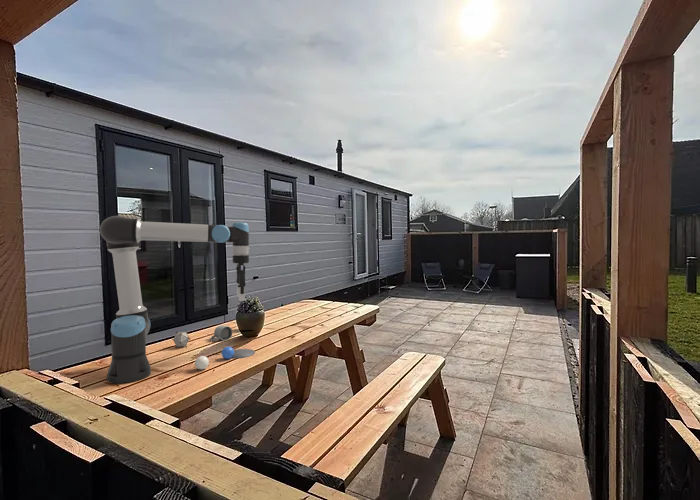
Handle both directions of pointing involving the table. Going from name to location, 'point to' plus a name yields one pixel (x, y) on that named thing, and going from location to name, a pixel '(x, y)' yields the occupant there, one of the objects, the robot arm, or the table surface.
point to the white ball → (201, 362)
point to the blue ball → (227, 352)
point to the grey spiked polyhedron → (181, 339)
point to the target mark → (243, 353)
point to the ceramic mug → (222, 333)
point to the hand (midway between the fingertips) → (240, 298)
